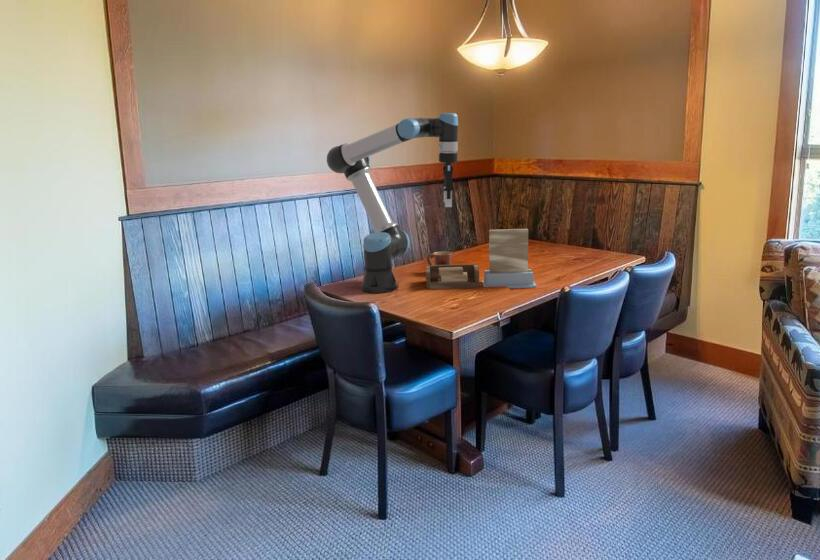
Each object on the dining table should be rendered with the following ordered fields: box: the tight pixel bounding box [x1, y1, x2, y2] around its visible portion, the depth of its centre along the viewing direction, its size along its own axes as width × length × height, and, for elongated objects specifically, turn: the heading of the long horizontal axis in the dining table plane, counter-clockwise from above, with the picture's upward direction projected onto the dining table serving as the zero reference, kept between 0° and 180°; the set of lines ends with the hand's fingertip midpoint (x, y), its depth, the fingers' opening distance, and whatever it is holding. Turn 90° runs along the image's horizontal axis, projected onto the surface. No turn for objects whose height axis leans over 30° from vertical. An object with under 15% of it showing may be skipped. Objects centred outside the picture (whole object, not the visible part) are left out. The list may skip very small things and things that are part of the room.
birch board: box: [488, 228, 529, 273], centre depth 258 cm, size 2×16×23 cm, turn 88°
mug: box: [426, 250, 453, 265], centre depth 283 cm, size 12×9×10 cm
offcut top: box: [439, 267, 463, 276], centre depth 259 cm, size 5×10×2 cm, turn 91°
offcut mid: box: [441, 272, 468, 282], centre depth 260 cm, size 5×11×2 cm, turn 88°
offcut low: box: [438, 279, 467, 283], centre depth 260 cm, size 5×12×2 cm, turn 88°
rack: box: [425, 263, 480, 290], centre depth 262 cm, size 14×22×8 cm, turn 88°
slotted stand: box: [481, 268, 537, 289], centre depth 261 cm, size 10×22×6 cm, turn 88°
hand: (447, 204), depth 254 cm, fingers open, 13 cm apart
